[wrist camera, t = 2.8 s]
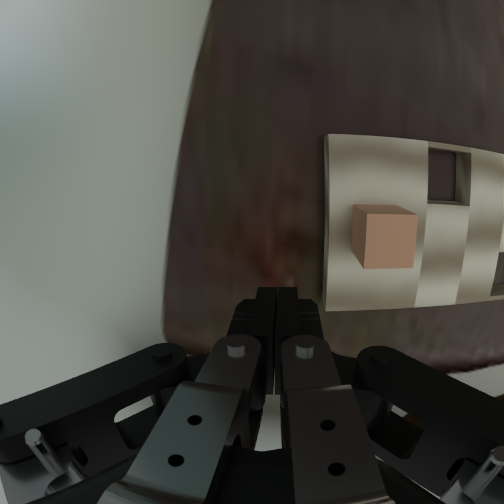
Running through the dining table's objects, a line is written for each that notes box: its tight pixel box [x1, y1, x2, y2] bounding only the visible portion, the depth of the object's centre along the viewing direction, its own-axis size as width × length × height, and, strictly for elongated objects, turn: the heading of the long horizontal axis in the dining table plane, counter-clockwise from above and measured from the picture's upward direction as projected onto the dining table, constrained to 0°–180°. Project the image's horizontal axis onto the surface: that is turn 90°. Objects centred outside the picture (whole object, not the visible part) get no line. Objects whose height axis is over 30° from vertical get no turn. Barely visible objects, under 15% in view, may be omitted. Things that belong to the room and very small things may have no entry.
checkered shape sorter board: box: [322, 134, 504, 311], centre depth 23 cm, size 16×30×6 cm, turn 92°
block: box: [351, 204, 418, 269], centre depth 22 cm, size 4×4×4 cm
